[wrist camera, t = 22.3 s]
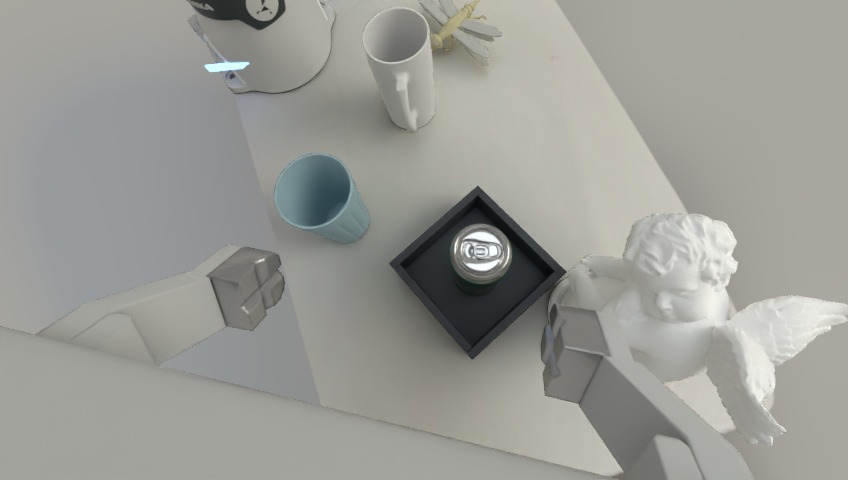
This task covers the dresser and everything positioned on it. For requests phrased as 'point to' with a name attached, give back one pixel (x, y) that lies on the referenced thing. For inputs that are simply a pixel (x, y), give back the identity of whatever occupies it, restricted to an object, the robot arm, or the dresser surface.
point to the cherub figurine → (698, 313)
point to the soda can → (479, 258)
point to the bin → (485, 314)
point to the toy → (461, 28)
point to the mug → (402, 65)
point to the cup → (321, 198)
